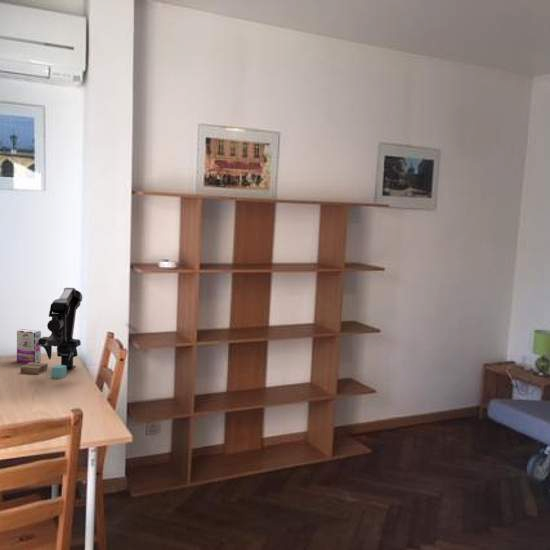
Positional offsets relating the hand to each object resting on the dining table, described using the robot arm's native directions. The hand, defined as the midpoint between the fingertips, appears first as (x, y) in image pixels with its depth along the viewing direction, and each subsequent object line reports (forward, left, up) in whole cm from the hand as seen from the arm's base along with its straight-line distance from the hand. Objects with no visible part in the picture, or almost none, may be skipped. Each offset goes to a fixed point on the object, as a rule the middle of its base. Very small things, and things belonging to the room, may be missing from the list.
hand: (59, 359), depth 285 cm
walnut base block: (-5, -15, -8) cm, 18 cm away
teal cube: (0, 0, -8) cm, 8 cm away
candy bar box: (-20, -26, -8) cm, 34 cm away
